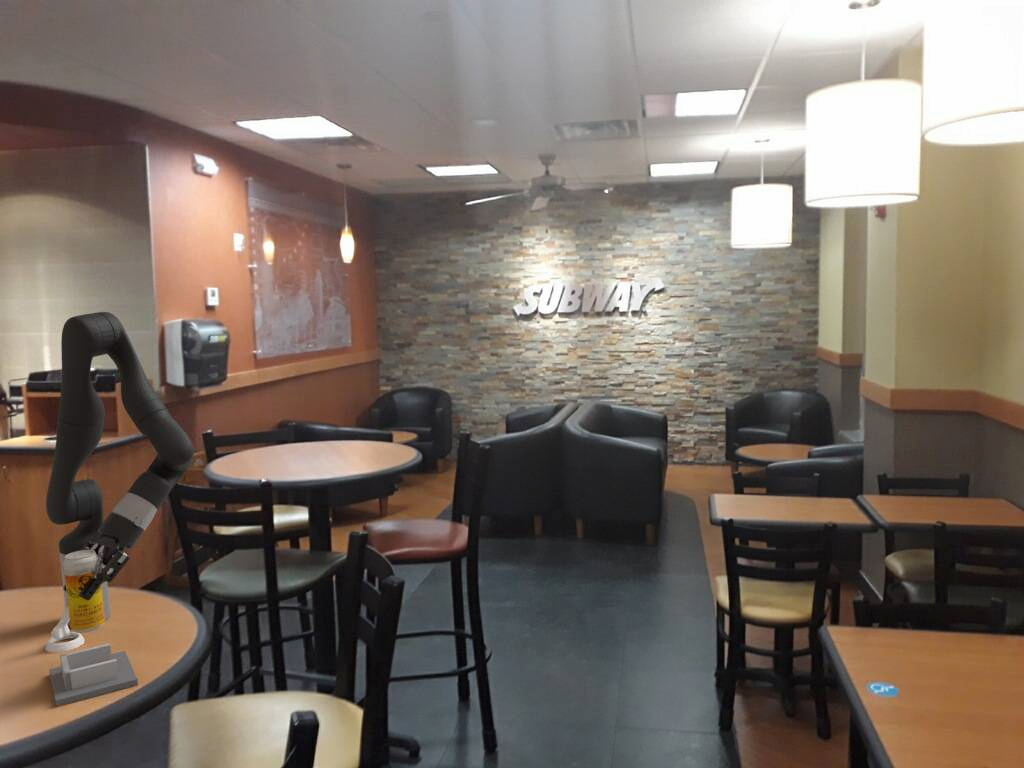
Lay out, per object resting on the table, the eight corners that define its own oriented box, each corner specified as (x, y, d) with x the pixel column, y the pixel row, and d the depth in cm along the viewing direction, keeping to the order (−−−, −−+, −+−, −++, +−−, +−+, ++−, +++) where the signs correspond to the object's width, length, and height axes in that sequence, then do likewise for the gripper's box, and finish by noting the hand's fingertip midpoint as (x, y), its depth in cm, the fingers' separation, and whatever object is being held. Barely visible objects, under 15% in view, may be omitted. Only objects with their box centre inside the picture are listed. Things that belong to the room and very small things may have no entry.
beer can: (75, 637, 158) (66, 561, 156) (67, 628, 162) (59, 554, 161) (109, 627, 162) (101, 553, 160) (100, 619, 166) (92, 547, 165)
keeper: (49, 675, 166) (47, 652, 166) (125, 656, 174) (123, 634, 173) (56, 706, 153) (53, 682, 152) (137, 684, 160) (135, 661, 160)
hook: (92, 628, 176) (60, 614, 174) (67, 669, 179) (36, 656, 177) (105, 608, 183) (74, 594, 181) (81, 648, 186) (51, 634, 184)
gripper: (96, 506, 170) (42, 579, 162) (133, 515, 161) (77, 593, 153) (124, 525, 175) (73, 597, 167) (161, 534, 166) (108, 611, 158)
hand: (75, 594), depth 160 cm, fingers closed on beer can, 6 cm apart
